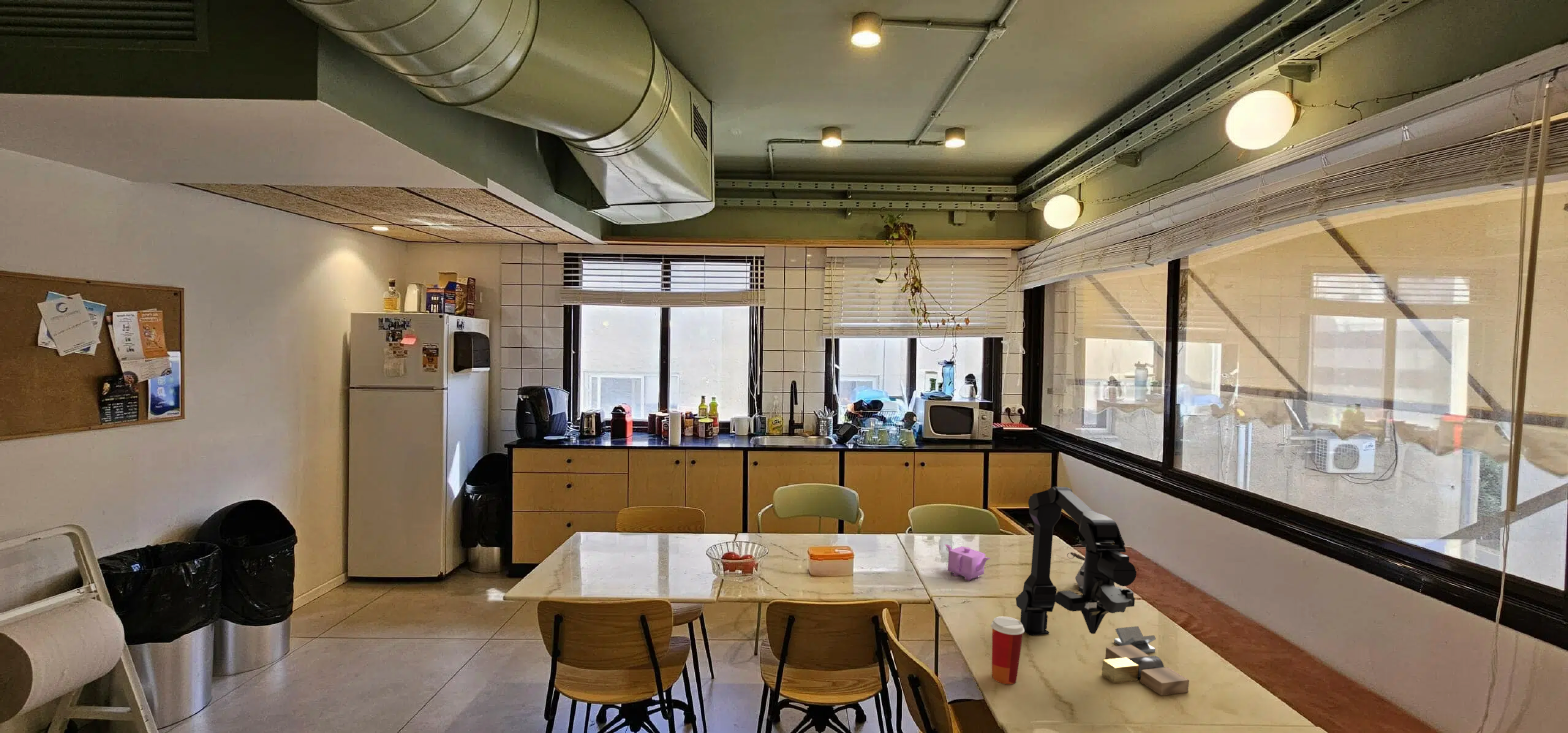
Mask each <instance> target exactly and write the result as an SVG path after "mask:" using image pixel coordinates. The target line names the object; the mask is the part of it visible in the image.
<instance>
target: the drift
mask: <svg viewBox="0 0 1568 733" xmlns="http://www.w3.org/2000/svg"><path fill="white" fill-rule="evenodd" d="M1138 667H1139V665H1137V664H1136V663H1134V662H1133V661H1131V660H1130V659H1128V658H1126V657H1125V658H1115V659H1102V668H1101V675H1102V676H1103V677H1104V678H1106V679H1107V680H1109V682H1111V683H1112V684H1119V683H1127V682H1129V683H1130V682H1135V681H1138V679H1139V677H1138Z"/></svg>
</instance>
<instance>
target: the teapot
mask: <svg viewBox="0 0 1568 733" xmlns="http://www.w3.org/2000/svg"><path fill="white" fill-rule="evenodd" d="M944 545H945V547H946V548H947V551H948V558H947V559H948V560H947V562H948V563H947V572H951V573H952V576H954V577H959V576H962V577H964V580H965V581H969V582H970V581H971V580H972V579H974V578H979V577H980V576H982V575H984V574H985V565H986V562H987V561H988V560H991V559H992V558H991V557H987V556H986V553H984V552H981V551H979V550H975V549H972V548H971V547H968V546H962V545H961V546H959V547H955V548H952V546H951V545H949V544H944Z"/></svg>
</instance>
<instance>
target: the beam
mask: <svg viewBox="0 0 1568 733" xmlns="http://www.w3.org/2000/svg"><path fill="white" fill-rule="evenodd" d="M1148 656H1150V655H1149V654H1148V653H1144V652H1142V651H1141V650H1139V649H1138V648H1136V647H1134V646H1133V645H1124V646H1119V645H1116V646H1106V647H1105V656H1104V657H1105V659H1104V660H1106V659H1115V658H1125V657H1126V658H1128V659H1130V658H1139V657H1148ZM1140 683H1142V684H1143V685H1144V686H1146V687H1147V688H1149V689H1150V690H1152V691H1154V693H1156V694H1158V695H1159V696H1167V695H1174V694H1175V695H1177V694H1183V693H1184V694H1185V693H1189V685H1190V684H1189V683H1190V680H1189V678H1188V677H1185V676H1184V675H1181V674H1180V673H1179V672H1177V671H1175V670H1173V669H1172V668H1170V667H1169V666H1166V667H1165V666H1164V667H1163V668H1154V669H1145V670H1141V677H1140Z"/></svg>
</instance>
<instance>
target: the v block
mask: <svg viewBox="0 0 1568 733" xmlns="http://www.w3.org/2000/svg"><path fill="white" fill-rule="evenodd" d="M1115 632H1116V634H1117V637H1118V638H1114V640H1113V642H1114V643H1115V644H1117V646H1124V645H1133V646H1134V647H1136V648H1138V649H1139V650H1141V651H1142V652H1144V653H1146V654H1149V653H1151V654H1152V653H1156V648H1155V647H1154V646H1152V645H1150V643H1152V642H1153V641H1156V636H1155V635H1143V634H1142V631H1141V628H1140V627H1139V626H1126V627H1116V628H1115Z"/></svg>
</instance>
